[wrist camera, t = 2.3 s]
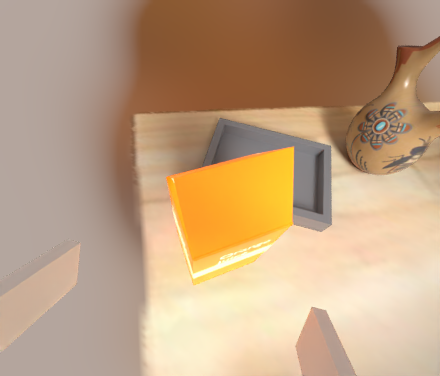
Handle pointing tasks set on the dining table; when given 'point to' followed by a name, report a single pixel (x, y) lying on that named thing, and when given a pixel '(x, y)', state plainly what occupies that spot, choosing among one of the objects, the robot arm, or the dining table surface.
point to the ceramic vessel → (395, 119)
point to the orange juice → (232, 210)
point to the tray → (302, 172)
